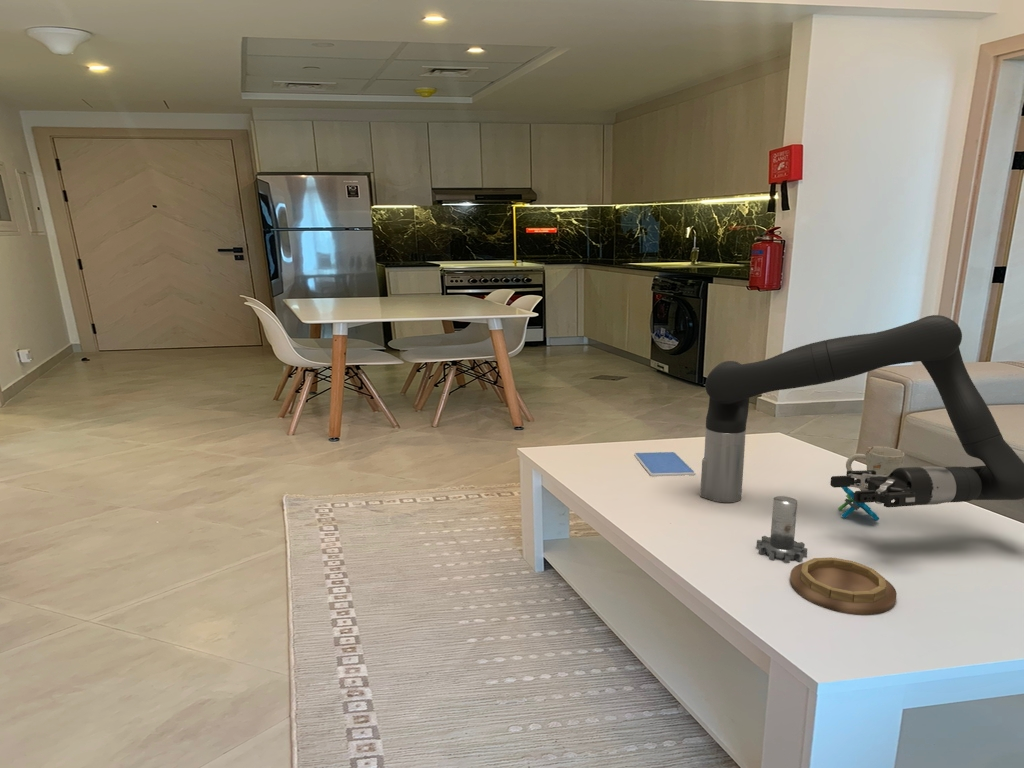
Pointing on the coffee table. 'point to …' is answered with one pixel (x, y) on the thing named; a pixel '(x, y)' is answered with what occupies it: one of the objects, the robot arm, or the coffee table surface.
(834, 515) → the coffee table surface
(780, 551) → the gear
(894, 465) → the mug
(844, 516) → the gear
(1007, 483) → the robot arm
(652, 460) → the blue flat plate
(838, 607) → the carrier disc
